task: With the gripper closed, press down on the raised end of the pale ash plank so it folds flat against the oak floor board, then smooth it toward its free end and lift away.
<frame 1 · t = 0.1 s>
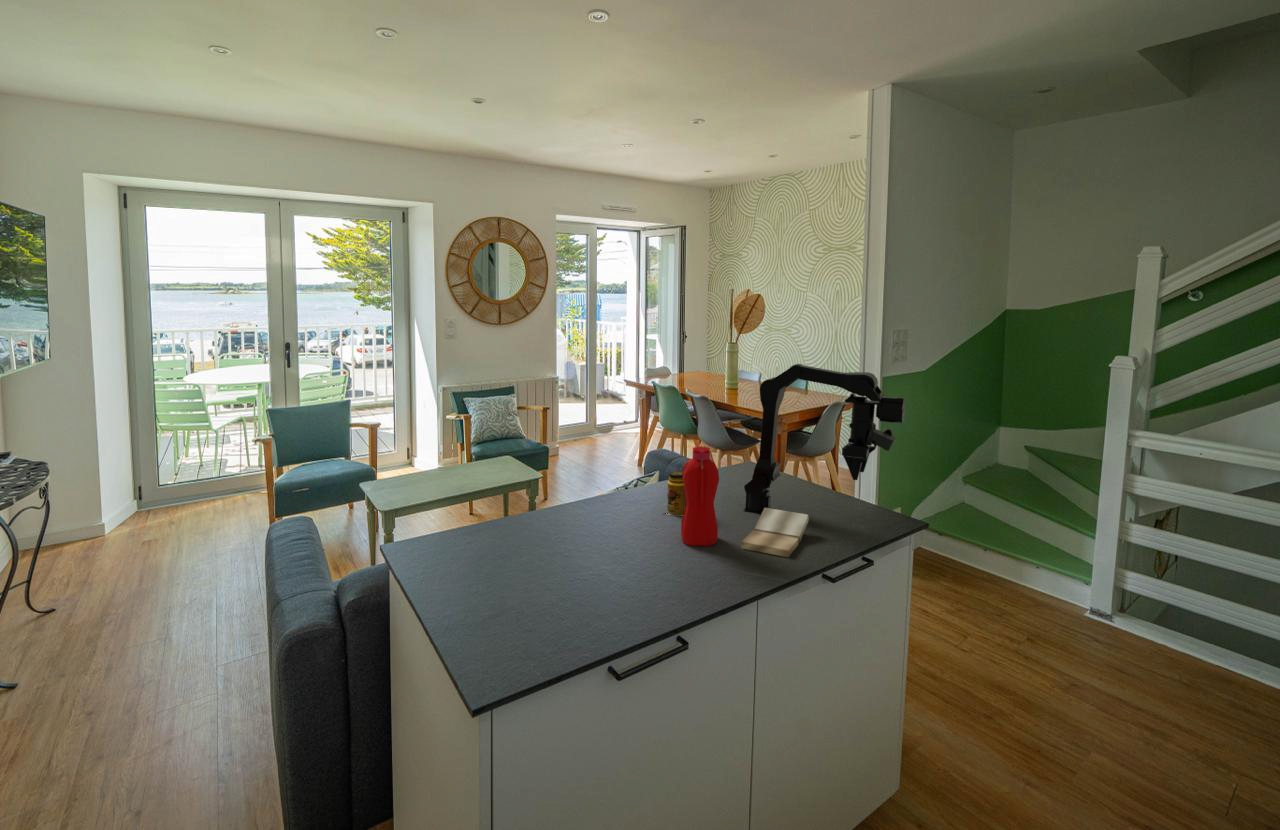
hand: (858, 475, 178), 15 cm above the table, tool pointing down, fingers open, 9 cm apart
water bottle: (699, 543, 168), on the table
plank: (781, 524, 173), point 3 cm above the table, hinge at 22.0°
floor board: (770, 546, 165), on the table
condiment: (678, 512, 192), on the table
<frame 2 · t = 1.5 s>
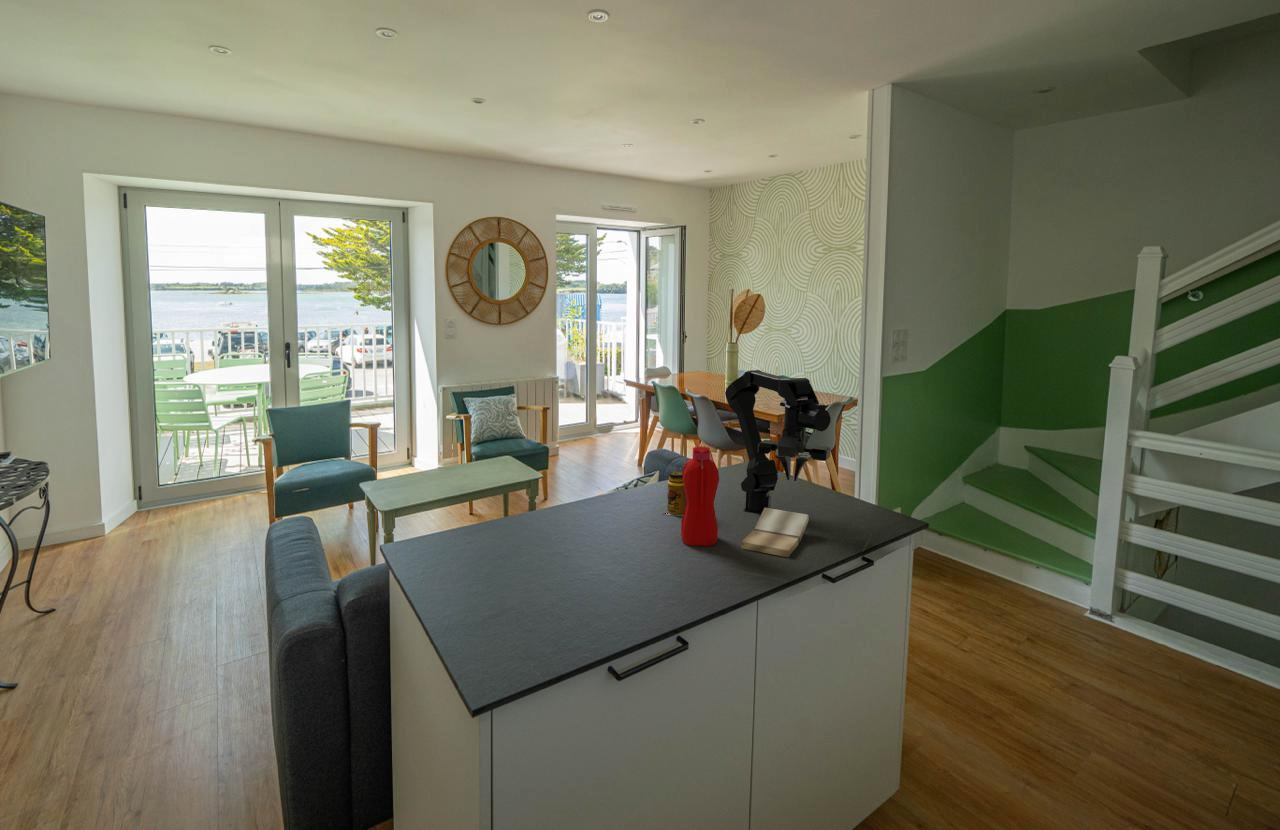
hand: (792, 480, 179), 13 cm above the table, tool pointing down, fingers closed
nothing on the table moved.
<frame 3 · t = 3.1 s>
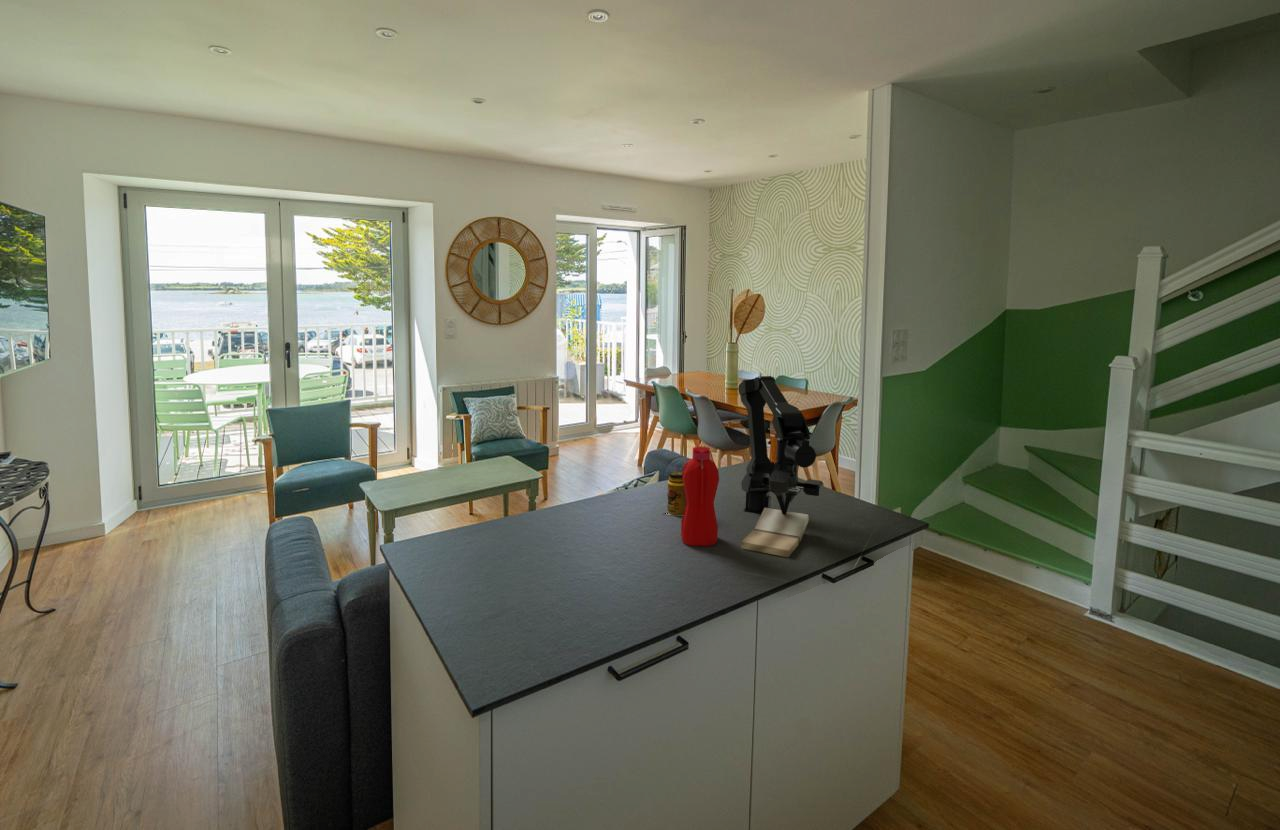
hand: (784, 514, 175), 5 cm above the table, tool pointing down, fingers closed, pressing on plank
plank: (781, 524, 173), point 3 cm above the table, hinge at 22.0°, touching gripper
everything else where it was.
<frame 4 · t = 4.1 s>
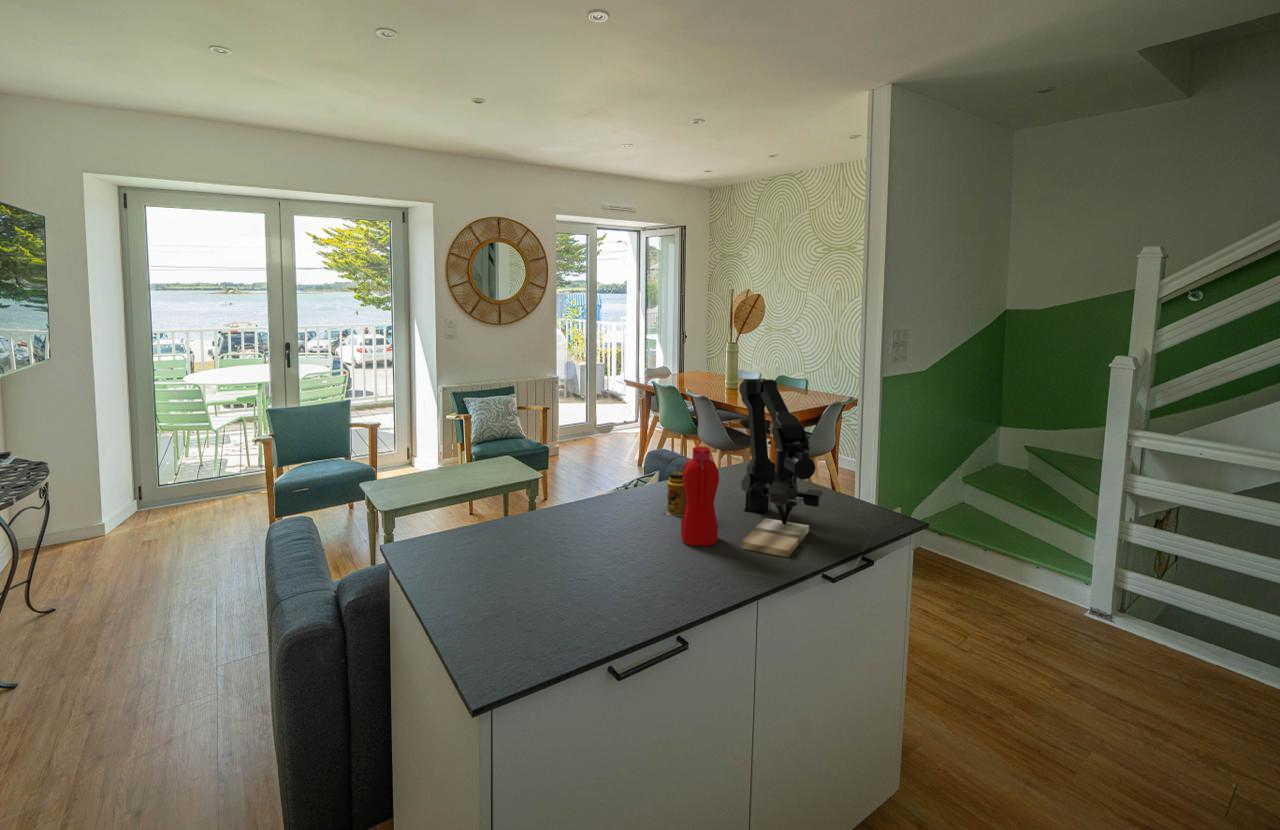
hand: (784, 523, 176), 2 cm above the table, tool pointing down, fingers closed, pressing on plank
plank: (782, 529, 174), point 1 cm above the table, hinge at -1.7°, touching gripper
everything else where it was.
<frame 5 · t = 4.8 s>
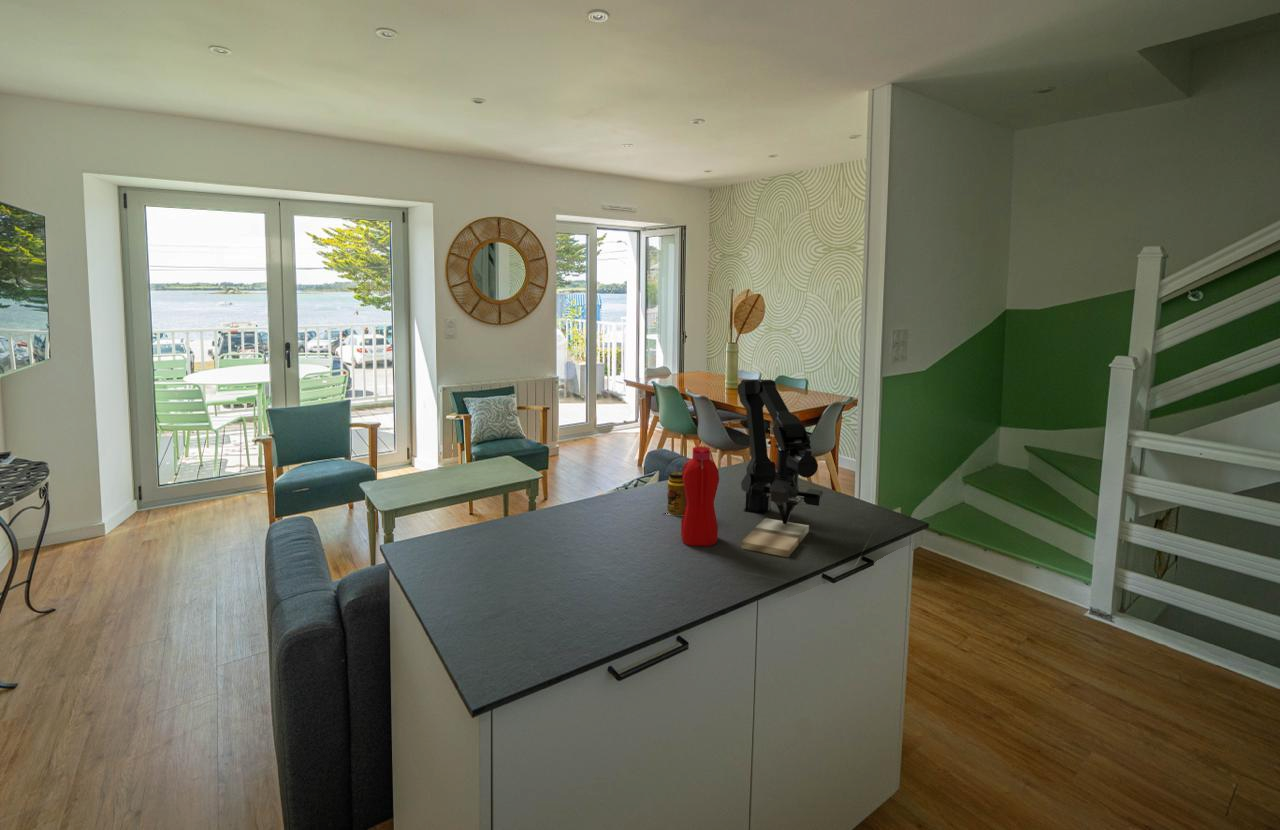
hand: (785, 523, 177), 2 cm above the table, tool pointing down, fingers closed
plank: (782, 529, 174), point 1 cm above the table, hinge at -1.7°
everything else where it was.
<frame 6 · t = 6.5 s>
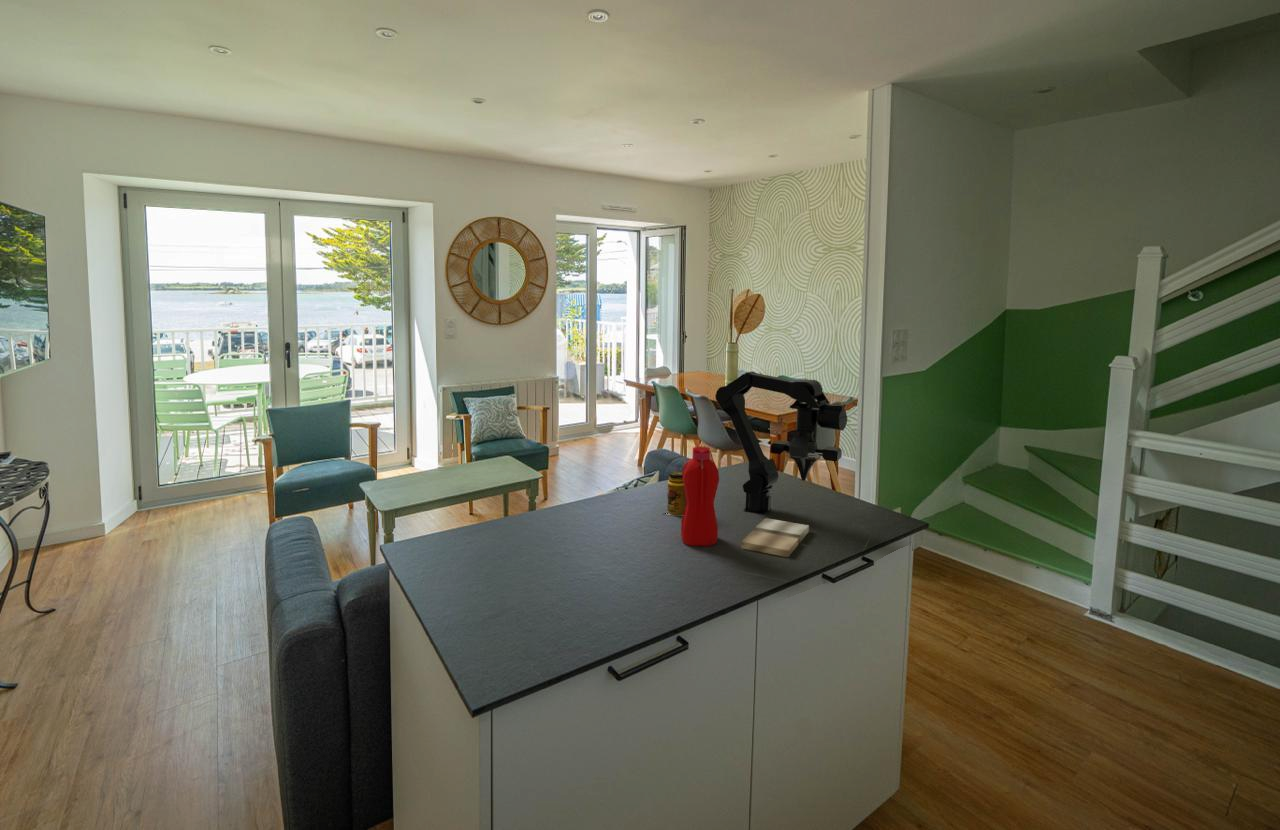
hand: (803, 480, 183), 12 cm above the table, tool pointing down, fingers closed
nothing on the table moved.
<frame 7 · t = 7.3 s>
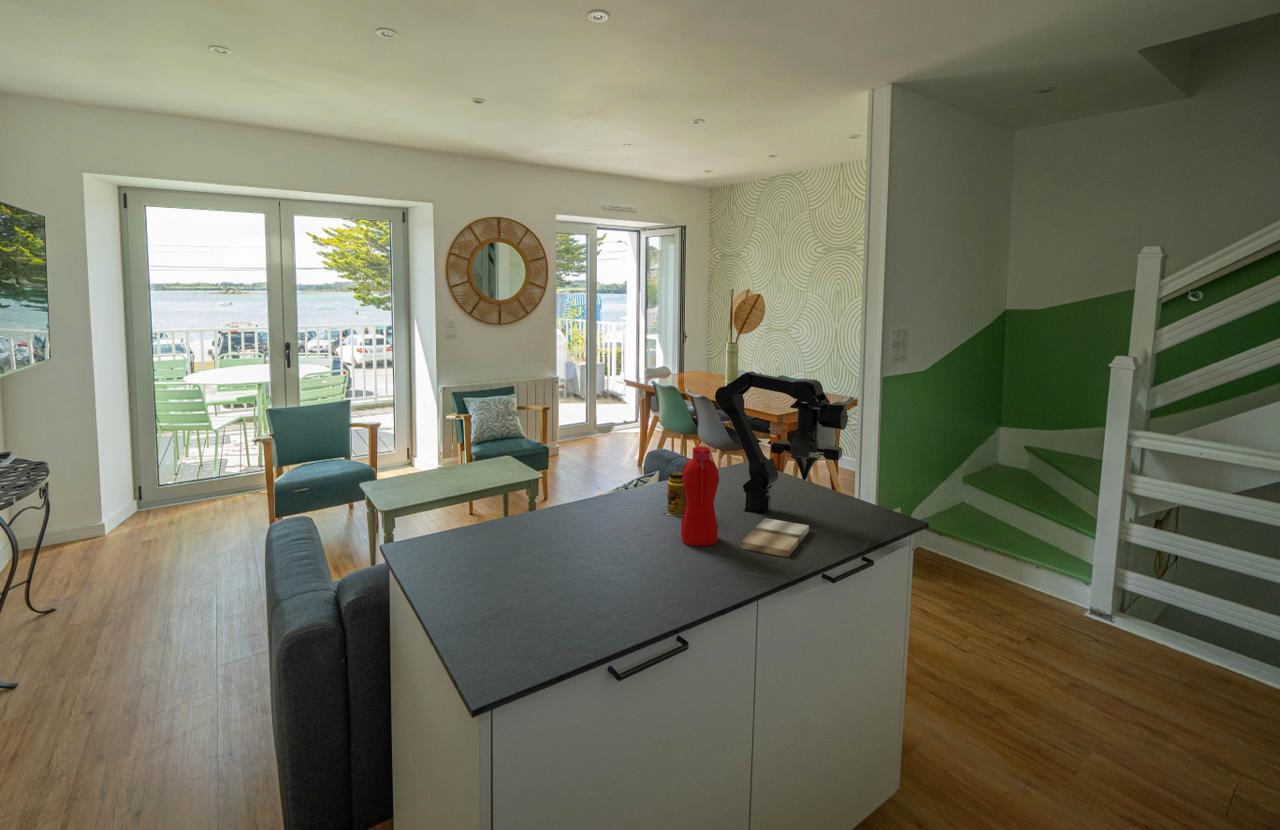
hand: (804, 479, 183), 12 cm above the table, tool pointing down, fingers closed
nothing on the table moved.
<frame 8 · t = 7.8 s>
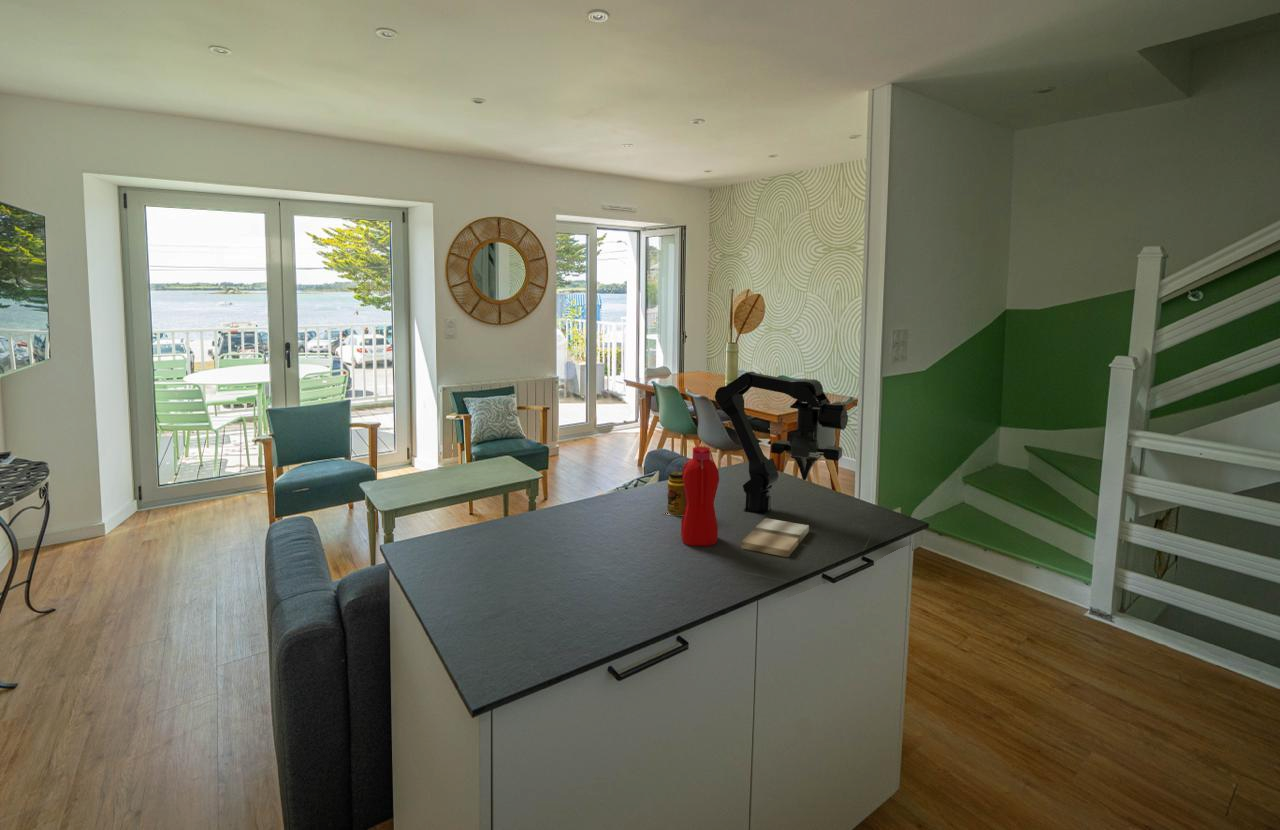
hand: (804, 479, 183), 12 cm above the table, tool pointing down, fingers closed
nothing on the table moved.
at the end: plank at -2° (first picture: +22°) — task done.
